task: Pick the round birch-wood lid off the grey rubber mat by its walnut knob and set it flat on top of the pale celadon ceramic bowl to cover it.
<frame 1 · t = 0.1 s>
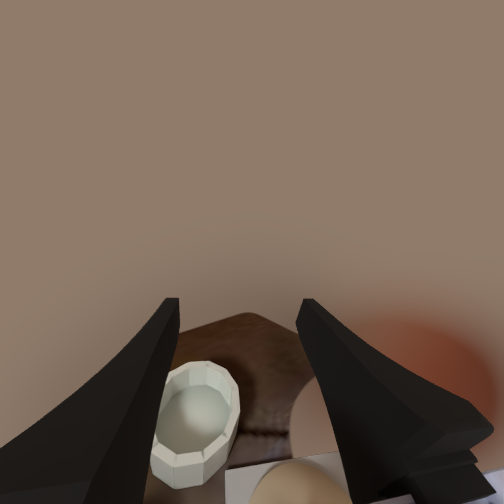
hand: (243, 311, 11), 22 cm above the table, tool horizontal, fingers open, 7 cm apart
bowl: (194, 425, 23), on the table
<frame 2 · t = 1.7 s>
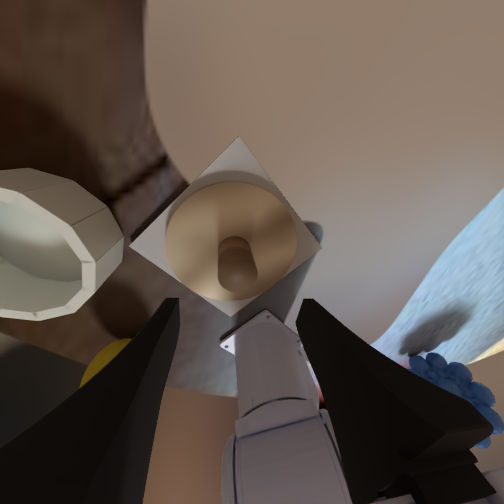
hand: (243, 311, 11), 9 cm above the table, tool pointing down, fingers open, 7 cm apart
lid: (233, 247, 18), point 1 cm above the table, touching mat
bowl: (56, 234, 16), on the table
grapes: (410, 357, 35), on the table
lemon: (134, 338, 23), on the table
mat: (233, 244, 19), on the table
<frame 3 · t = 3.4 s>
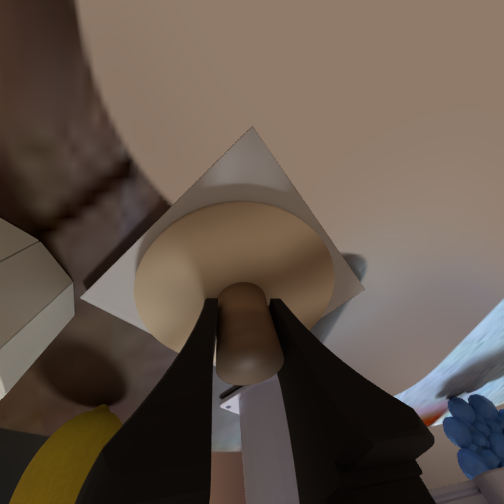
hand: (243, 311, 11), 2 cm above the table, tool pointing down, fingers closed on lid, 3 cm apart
lid: (240, 293, 13), point 1 cm above the table, touching gripper, mat
grapes: (448, 399, 29), on the table
lemon: (105, 402, 17), on the table
mat: (239, 287, 13), on the table
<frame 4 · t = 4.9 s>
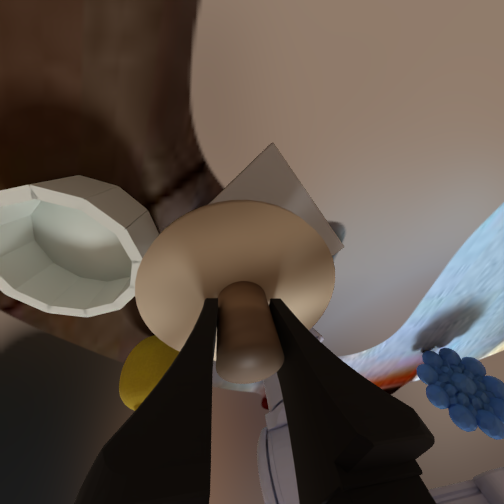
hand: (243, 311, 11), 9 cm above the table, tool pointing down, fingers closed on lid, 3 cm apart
lid: (240, 292, 13), point 8 cm above the table, touching gripper
bowl: (99, 236, 17), on the table
grapes: (423, 353, 36), on the table
lemon: (162, 334, 24), on the table
mat: (260, 244, 20), on the table
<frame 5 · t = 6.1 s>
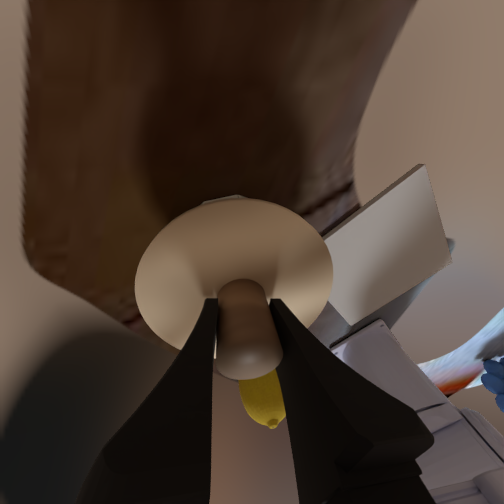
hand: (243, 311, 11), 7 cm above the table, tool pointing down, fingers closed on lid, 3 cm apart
lid: (240, 290, 13), point 5 cm above the table, touching gripper
grapes: (483, 362, 37), on the table
lemon: (257, 345, 24), on the table
mat: (375, 259, 20), on the table
when the fingers open (7 cm above the table, at t = 6.7 s): lid stays where it is, resting on bowl.
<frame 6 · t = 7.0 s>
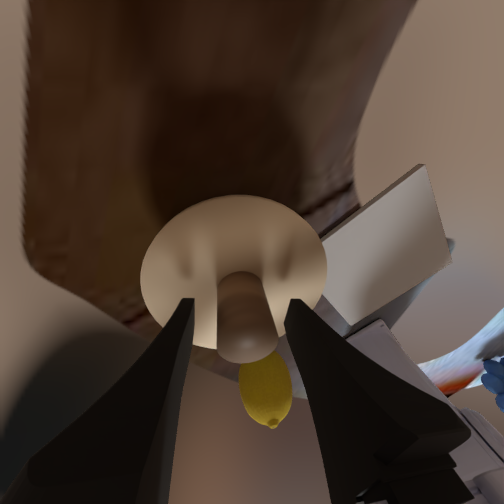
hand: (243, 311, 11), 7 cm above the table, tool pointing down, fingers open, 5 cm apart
lid: (239, 282, 13), point 4 cm above the table, touching bowl
grapes: (483, 362, 37), on the table
lemon: (257, 345, 24), on the table
mat: (375, 259, 20), on the table
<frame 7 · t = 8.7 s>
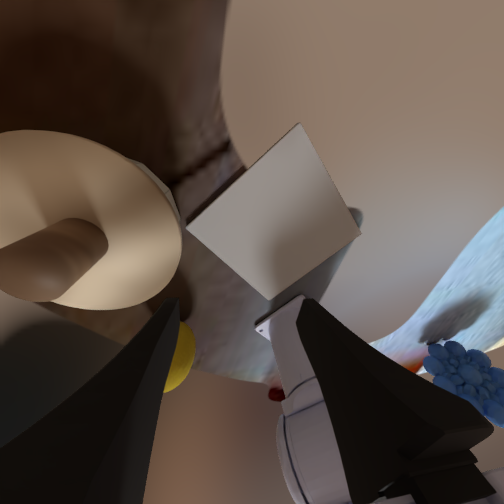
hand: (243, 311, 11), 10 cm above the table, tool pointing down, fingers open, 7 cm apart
lid: (89, 235, 13), point 4 cm above the table, touching bowl
bowl: (119, 216, 17), on the table
grapes: (429, 346, 37), on the table
lemon: (175, 320, 24), on the table
mat: (279, 228, 20), on the table
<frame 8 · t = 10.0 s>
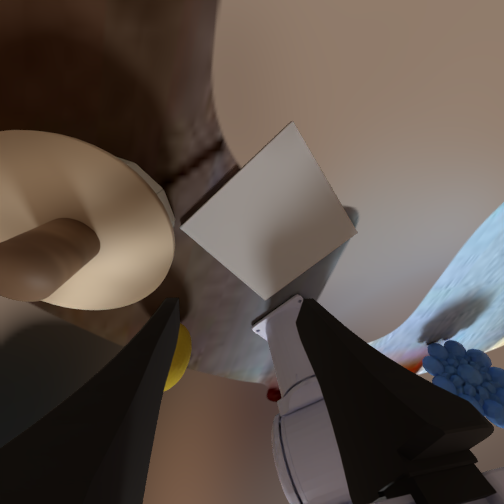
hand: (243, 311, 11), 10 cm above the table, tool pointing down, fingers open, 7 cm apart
lid: (81, 235, 13), point 4 cm above the table, touching bowl
bowl: (113, 216, 17), on the table
grapes: (428, 346, 36), on the table
lemon: (172, 321, 24), on the table
mat: (274, 228, 20), on the table
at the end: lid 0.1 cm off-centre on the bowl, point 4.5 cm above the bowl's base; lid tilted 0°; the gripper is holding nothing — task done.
